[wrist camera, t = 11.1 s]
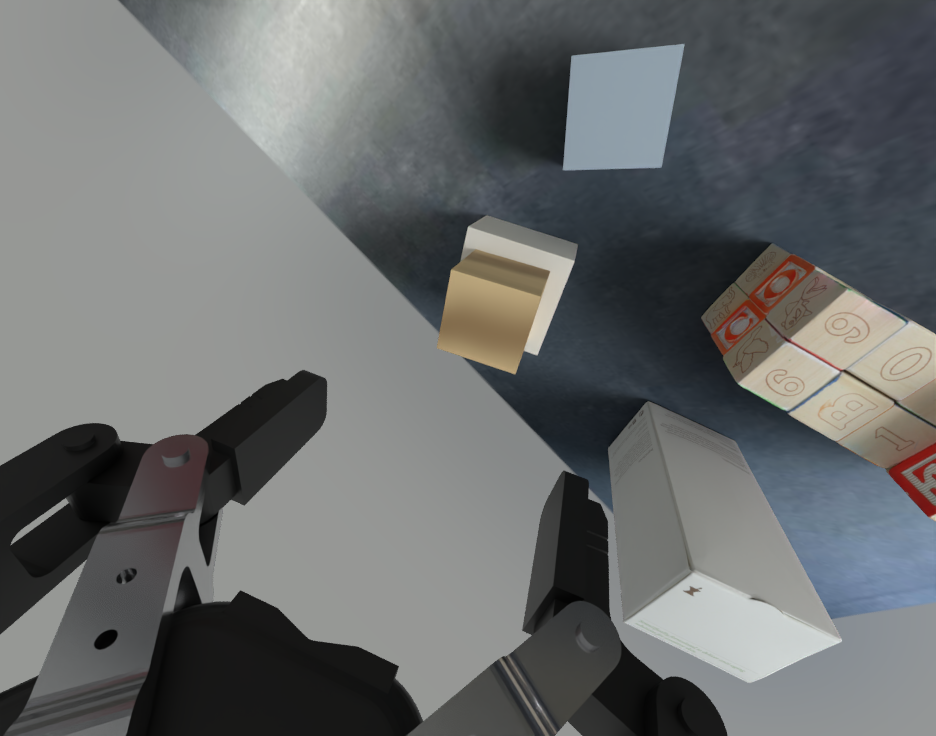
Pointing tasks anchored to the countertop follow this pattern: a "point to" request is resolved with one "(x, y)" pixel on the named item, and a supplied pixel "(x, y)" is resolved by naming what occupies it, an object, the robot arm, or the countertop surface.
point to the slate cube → (620, 108)
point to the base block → (527, 262)
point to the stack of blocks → (834, 364)
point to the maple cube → (491, 309)
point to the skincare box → (707, 551)
